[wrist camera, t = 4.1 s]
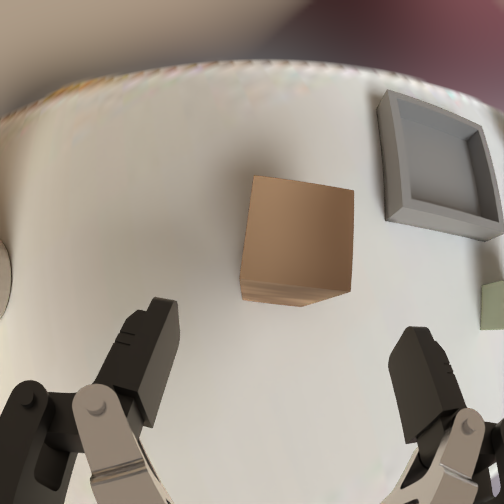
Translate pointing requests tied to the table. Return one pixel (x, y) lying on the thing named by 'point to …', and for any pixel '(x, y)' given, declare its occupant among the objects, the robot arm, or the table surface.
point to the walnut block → (297, 242)
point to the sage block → (492, 306)
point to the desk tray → (437, 170)
